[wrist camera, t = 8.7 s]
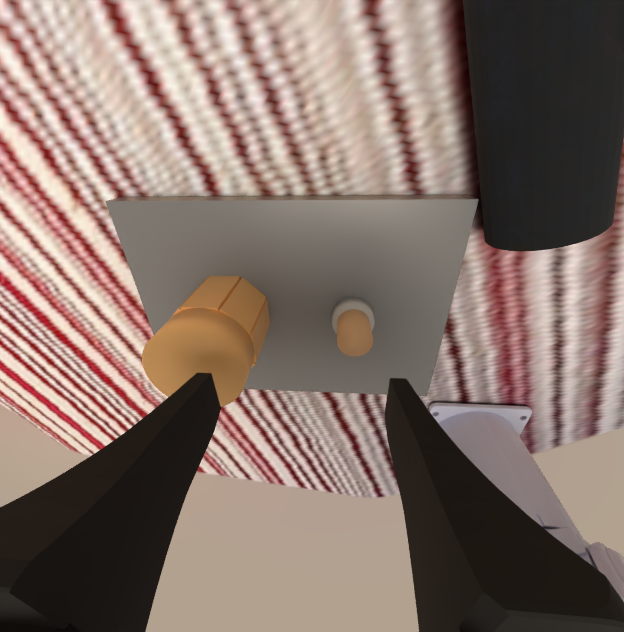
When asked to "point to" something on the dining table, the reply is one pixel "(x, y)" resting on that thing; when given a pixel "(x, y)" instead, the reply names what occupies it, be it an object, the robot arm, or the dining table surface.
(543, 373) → the dining table surface
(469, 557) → the robot arm
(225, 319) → the wire cap
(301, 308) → the board
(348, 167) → the dining table surface
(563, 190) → the pipe connector
